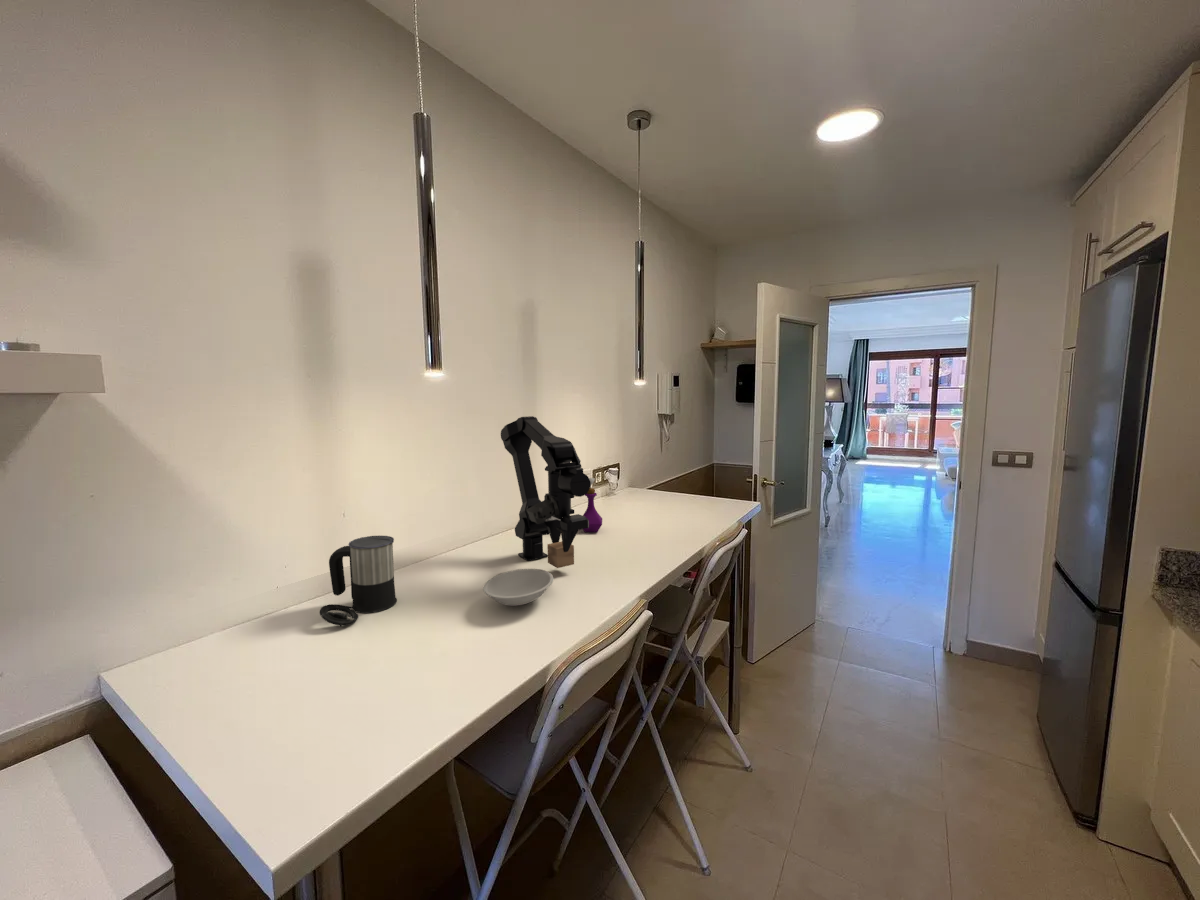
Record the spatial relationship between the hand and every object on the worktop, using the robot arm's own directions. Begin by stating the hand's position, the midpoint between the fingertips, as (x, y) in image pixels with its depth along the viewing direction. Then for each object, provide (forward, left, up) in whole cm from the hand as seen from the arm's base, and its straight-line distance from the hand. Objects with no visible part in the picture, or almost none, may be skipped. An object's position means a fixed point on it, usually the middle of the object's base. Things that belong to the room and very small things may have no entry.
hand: (560, 549), depth 131 cm
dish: (+11, -17, -7) cm, 21 cm away
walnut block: (0, 0, -4) cm, 4 cm away
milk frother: (-5, -47, -7) cm, 48 cm away
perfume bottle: (-28, +28, -7) cm, 40 cm away
